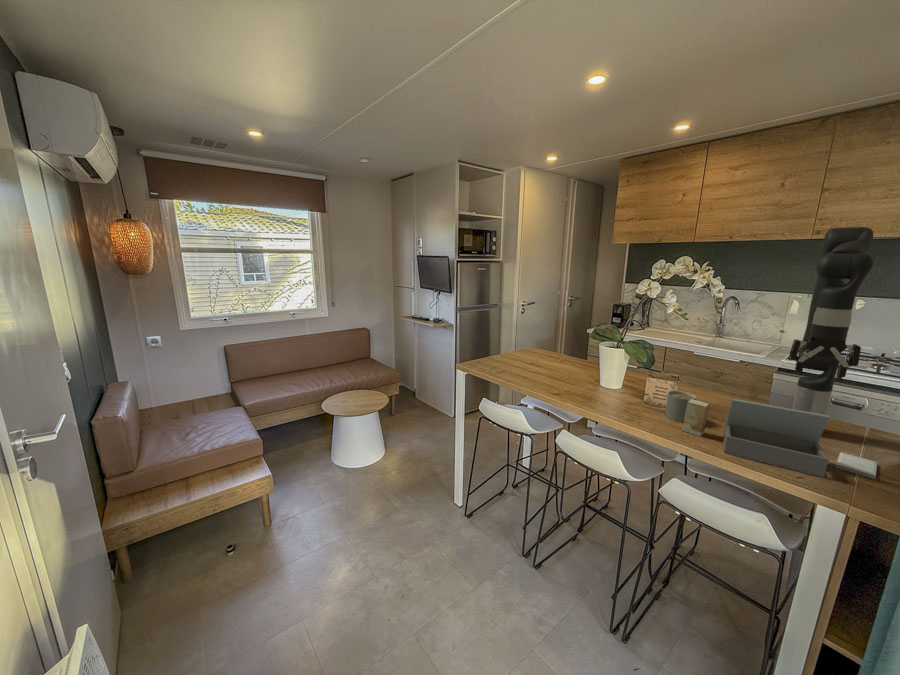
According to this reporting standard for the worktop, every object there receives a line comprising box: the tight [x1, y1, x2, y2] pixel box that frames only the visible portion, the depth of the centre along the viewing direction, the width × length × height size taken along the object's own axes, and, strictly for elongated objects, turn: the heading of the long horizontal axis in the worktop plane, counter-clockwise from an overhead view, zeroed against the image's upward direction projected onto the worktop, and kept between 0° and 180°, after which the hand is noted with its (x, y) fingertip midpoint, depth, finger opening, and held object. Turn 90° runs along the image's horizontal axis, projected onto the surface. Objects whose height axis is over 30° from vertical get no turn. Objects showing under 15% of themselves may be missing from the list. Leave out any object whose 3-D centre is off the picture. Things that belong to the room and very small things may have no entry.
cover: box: [725, 398, 830, 443], centre depth 119 cm, size 12×24×1 cm
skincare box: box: [681, 399, 711, 437], centre depth 133 cm, size 6×4×12 cm
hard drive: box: [835, 451, 878, 480], centre depth 113 cm, size 2×8×12 cm
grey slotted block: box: [722, 423, 829, 478], centre depth 117 cm, size 12×24×6 cm, turn 54°
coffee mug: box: [664, 390, 697, 423], centre depth 148 cm, size 13×10×10 cm
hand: (818, 375), depth 107 cm, fingers open, 8 cm apart
